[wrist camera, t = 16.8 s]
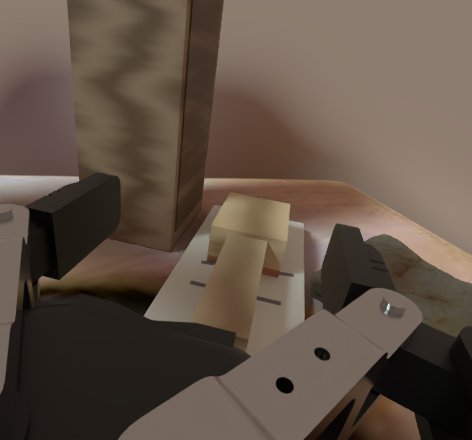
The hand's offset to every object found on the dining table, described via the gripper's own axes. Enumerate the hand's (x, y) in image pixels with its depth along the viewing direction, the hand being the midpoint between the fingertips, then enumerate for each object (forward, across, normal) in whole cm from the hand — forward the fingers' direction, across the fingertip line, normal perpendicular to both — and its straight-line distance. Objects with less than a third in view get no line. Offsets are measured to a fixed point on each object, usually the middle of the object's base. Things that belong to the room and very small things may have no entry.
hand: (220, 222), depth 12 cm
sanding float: (+14, 0, +13) cm, 19 cm away
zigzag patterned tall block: (+24, +13, +14) cm, 31 cm away
